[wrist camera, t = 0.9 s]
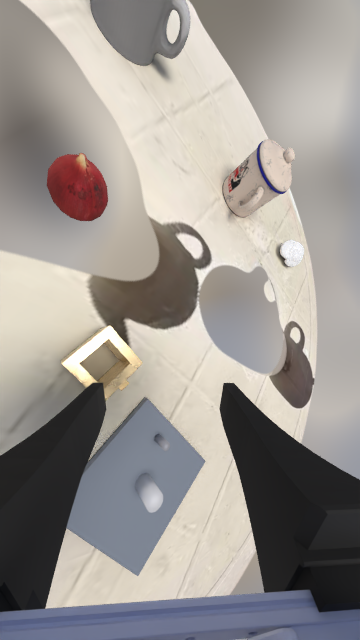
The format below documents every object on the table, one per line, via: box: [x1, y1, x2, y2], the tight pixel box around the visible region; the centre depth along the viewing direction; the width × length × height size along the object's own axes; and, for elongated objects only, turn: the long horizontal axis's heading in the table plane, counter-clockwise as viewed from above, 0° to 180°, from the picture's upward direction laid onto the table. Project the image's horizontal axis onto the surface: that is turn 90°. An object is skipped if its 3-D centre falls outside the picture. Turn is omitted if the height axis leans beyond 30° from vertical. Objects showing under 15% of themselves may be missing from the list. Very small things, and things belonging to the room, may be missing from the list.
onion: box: [47, 153, 108, 221], centre depth 21 cm, size 6×6×8 cm
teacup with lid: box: [223, 139, 295, 217], centre depth 36 cm, size 12×9×12 cm
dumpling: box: [280, 240, 304, 267], centre depth 47 cm, size 7×5×4 cm
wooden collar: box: [61, 325, 142, 401], centre depth 22 cm, size 6×7×4 cm
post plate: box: [66, 398, 205, 576], centre depth 23 cm, size 14×14×4 cm
